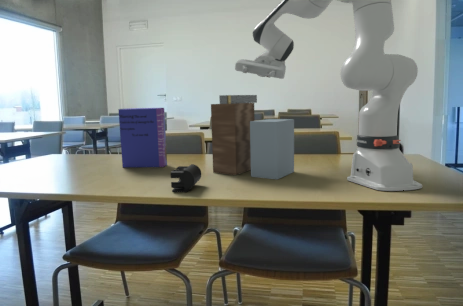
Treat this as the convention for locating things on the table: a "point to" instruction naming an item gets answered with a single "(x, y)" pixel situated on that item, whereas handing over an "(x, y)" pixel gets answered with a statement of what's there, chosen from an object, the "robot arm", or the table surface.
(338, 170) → the table surface
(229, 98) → the grey yellow-banded bar
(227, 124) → the tall walnut stand
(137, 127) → the blue book
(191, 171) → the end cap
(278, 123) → the blue-grey rectangular block
